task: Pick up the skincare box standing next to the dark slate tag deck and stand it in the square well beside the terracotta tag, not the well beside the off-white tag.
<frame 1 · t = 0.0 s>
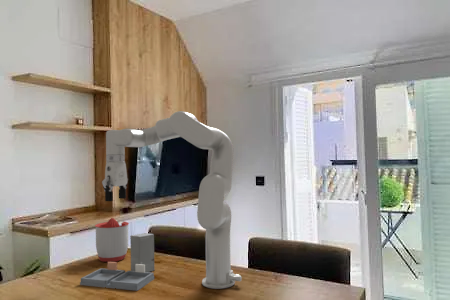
hand: (115, 199, 149), 31 cm above the table, tool pointing down, fingers open, 9 cm apart
skincare box: (142, 271, 151), on the table
citrus juicer: (113, 259, 171), on the table
tag deck: (117, 281, 138), on the table
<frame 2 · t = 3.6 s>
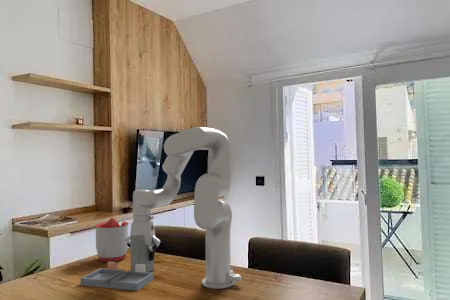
hand: (142, 259, 151), 5 cm above the table, tool pointing down, fingers closed on skincare box, 8 cm apart
skincare box: (142, 271, 151), on the table, touching gripper
everything else where it was.
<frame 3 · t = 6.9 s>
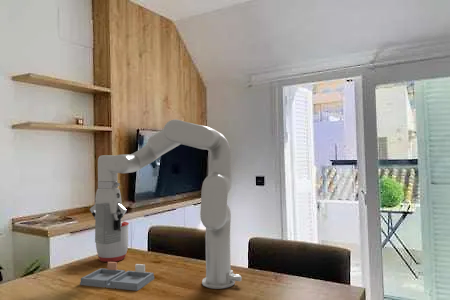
hand: (108, 229, 142), 20 cm above the table, tool pointing down, fingers closed on skincare box, 7 cm apart
skincare box: (107, 242, 142), point 15 cm above the table, touching gripper
everything else where it was.
when the fingers open (8 cm above the table, at t = 10.4 s): skincare box drops 1 cm, resting on tag deck.
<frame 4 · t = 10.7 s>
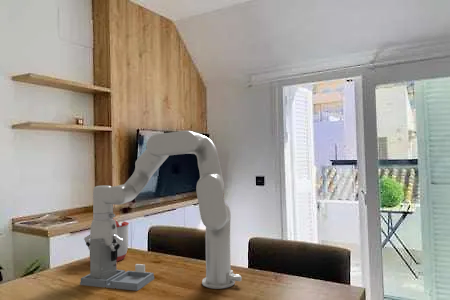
hand: (103, 259, 140), 8 cm above the table, tool pointing down, fingers open, 9 cm apart
skincare box: (103, 278, 140), point 1 cm above the table, touching tag deck
everything else where it was.
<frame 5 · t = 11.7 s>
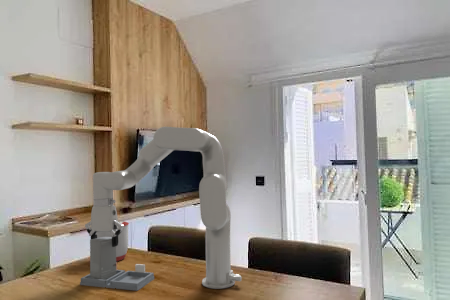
hand: (104, 245, 141), 14 cm above the table, tool pointing down, fingers open, 9 cm apart
skincare box: (103, 278, 140), point 1 cm above the table, touching gripper, tag deck
everything else where it was.
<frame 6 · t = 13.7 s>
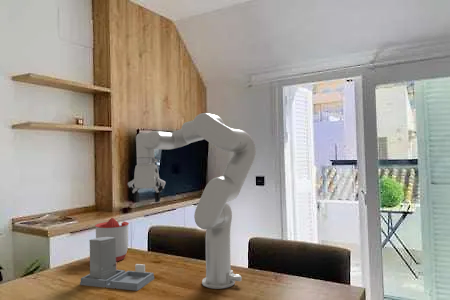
hand: (147, 201, 150), 30 cm above the table, tool pointing down, fingers open, 9 cm apart
skincare box: (103, 278, 140), point 1 cm above the table, touching tag deck
everything else where it was.
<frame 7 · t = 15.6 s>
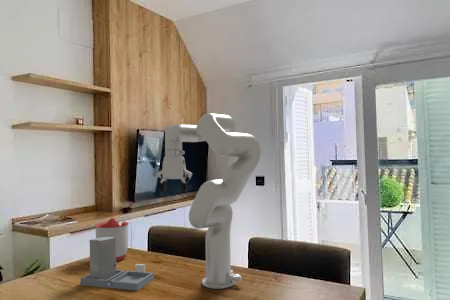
hand: (174, 191, 157), 33 cm above the table, tool pointing down, fingers open, 9 cm apart
nothing on the table moved.
at the end: skincare box 0.3 cm from the target spot on the tag deck, point 0.8 cm above the tag deck's base; skincare box tilted 0°; the gripper is holding nothing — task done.
